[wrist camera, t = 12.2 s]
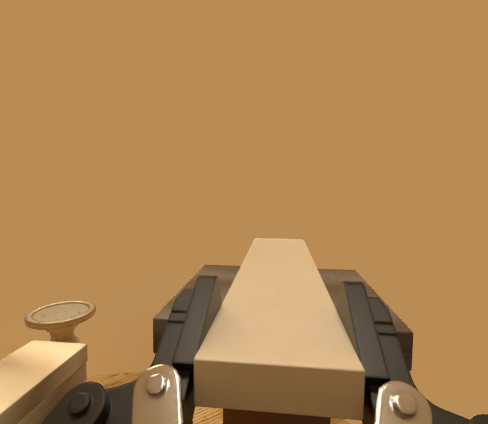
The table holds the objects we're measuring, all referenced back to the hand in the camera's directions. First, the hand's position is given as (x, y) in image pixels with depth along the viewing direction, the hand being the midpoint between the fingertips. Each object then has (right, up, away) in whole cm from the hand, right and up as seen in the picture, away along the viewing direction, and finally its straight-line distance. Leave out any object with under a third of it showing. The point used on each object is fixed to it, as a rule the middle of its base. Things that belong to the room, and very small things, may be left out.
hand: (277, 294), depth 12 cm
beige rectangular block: (+1, -2, +7) cm, 8 cm away
